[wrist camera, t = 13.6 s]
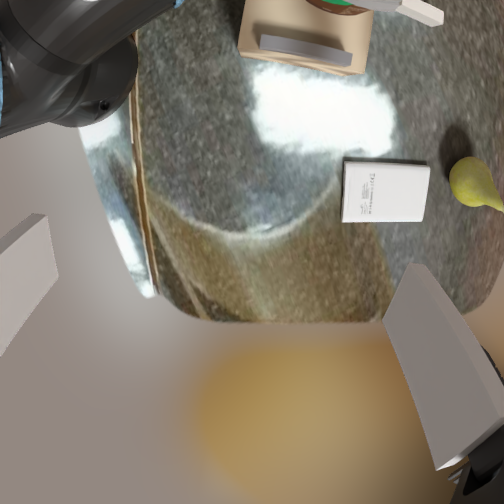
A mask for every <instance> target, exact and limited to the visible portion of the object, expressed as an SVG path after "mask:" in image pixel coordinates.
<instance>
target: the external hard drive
mask: <svg viewBox="0 0 504 504" xmlns="http://www.w3.org/2000/svg"><path fill="white" fill-rule="evenodd" d="M429 176H430V167H429V166H427V165H415V164H400V163H381V162H352V161H344V177H343V187H344V189H343V197H342V211H341V221H342V222H421V221H422V220H423V214H424V209H425V203H426V197H427V191H428V183H429Z"/></svg>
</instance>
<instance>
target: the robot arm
mask: <svg viewBox="0 0 504 504" xmlns="http://www.w3.org/2000/svg"><path fill="white" fill-rule="evenodd" d="M183 1H184V0H0V138H3V137H5V136H8V135H11V134H13V133H17V132H19V131H22V130H25V129H28V128H31V127H34V126H37V125H41V124H44V123H47V122H51V123H55V124H58V125H62V126H65V127H83V126H87V125H91V124H94V123H97V122H100V121H102V120H104V119H105V118H107V117H109V116H110V115H111V114H113V113H114V112H115V111H116V110H117V109H118V108H119V107H120V106H121V105H122V103H123V102H124V101H125V99H126V98H127V96H128V95H129V93H130V91H131V89H132V87H133V84H134V81H135V78H136V74H137V68H138V53H137V48H136V44H135V42H134V39H133V37H132V36H131V33H133V32H134V31H136V30H137V29H139V28H140V27H142V26H144V25H145V24H147V23H148V22H150V21H151V20H153V19H155V18H156V17H158V16H160V15H161V14H163V13H165V12H166V11H168V10H170V9H172V8H174V9H175V8H177V7H179V6H180V5H181V4H182V2H183ZM58 278H59V276H58V271H57V267H56V263H55V257H54V253H53V247H52V242H51V236H50V230H49V224H48V217H47V215H42V214H34V213H33V214H31V215H30V216H29V217H27V218H26V219H25V220H23V221H22V222H21V223H19V224H18V225H17V226H16V227H14V228H13V229H12V230H11V231H9V232H8V233H7V234H6V235H5V236H3V237H2V238H1V239H0V357H1V356H2V354H3V352H4V351H5V349H6V348H7V346H8V345H9V343H10V342H11V340H12V339H13V338H14V336H15V334H16V333H17V332H18V330H19V329H20V328H21V326H22V325H23V323H24V322H25V321H26V319H27V318H28V316H29V315H30V314H31V312H32V311H33V310H34V308H35V307H36V306H37V304H38V303H39V302H40V300H41V299H42V298H43V296H44V295H45V294H46V293H47V291H48V290H49V289H50V288H51V286H52V285H53V284H54V283H55V282H56V280H57V279H58ZM382 322H383V324H384V326H385V329H386V331H387V333H388V336H389V338H390V341H391V343H392V345H393V348H394V350H395V353H396V355H397V358H398V360H399V362H400V365H401V368H402V370H403V373H404V376H405V378H406V381H407V383H408V386H409V389H410V392H411V394H412V397H413V400H414V402H415V405H416V408H417V411H418V414H419V417H420V420H421V423H422V426H423V429H424V432H425V435H426V438H427V441H428V445H429V448H430V451H431V454H432V458H433V461H434V465H435V468H436V470H439V469H442V468H445V467H448V466H451V465H455V464H456V463H457V462H459V461H460V460H461V459H463V458H464V457H465V456H467V455H468V457H469V461H468V462H467V463H465V464H464V465H462V466H461V467H460V468H458V469H457V470H455V471H454V472H453V473H451V474H450V476H449V477H448V480H451V479H453V478H454V477H456V476H457V475H459V474H460V473H461V475H460V476H459V477H458V478H456V479H455V480H454V481H453V482H454V483H456V484H457V486H456V489H455V492H454V495H453V497H452V499H451V502H450V504H504V380H503V378H502V377H501V374H500V372H499V371H498V369H497V368H495V363H494V362H493V360H492V358H491V357H490V355H489V353H488V352H487V351H486V350H485V349H484V348H483V347H482V346H481V345H480V344H479V342H478V341H477V339H476V338H475V336H474V334H473V333H472V331H471V330H470V328H469V327H468V325H467V323H466V322H465V321H464V319H463V317H462V316H461V314H460V313H459V311H458V310H457V309H456V307H455V306H454V304H453V303H452V301H451V300H450V298H449V297H448V296H447V294H446V293H445V291H444V290H443V289H442V287H441V286H440V285H439V283H438V282H437V280H436V279H435V278H434V276H433V275H432V274H431V272H430V271H429V270H428V269H427V267H426V266H425V265H422V264H415V263H408V265H407V267H406V270H405V272H404V274H403V277H402V279H401V281H400V284H399V286H398V288H397V290H396V292H395V294H394V297H393V299H392V301H391V303H390V305H389V307H388V309H387V311H386V313H385V315H384V317H383V319H382Z"/></svg>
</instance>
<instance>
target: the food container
mask: <svg viewBox="0 0 504 504" xmlns="http://www.w3.org/2000/svg"><path fill="white" fill-rule="evenodd" d="M306 1H307V2H308V3H310V4H311V5H313V6H315V7H317V8H319V9H321V10H323V11H326V12H329V13H332V14H337V15H345V16H354V15H358V14H361V13H364V12H367V11H370V10H377V11H382V12H394V11H395V10H396V9H397V8H398V7H399V6H400V4H399V2H400V1H402V0H306Z"/></svg>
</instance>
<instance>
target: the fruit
mask: <svg viewBox="0 0 504 504" xmlns="http://www.w3.org/2000/svg"><path fill="white" fill-rule="evenodd" d="M449 182H450V186H451V190H452V192H453V194H454V196H455V197H456V198H457V199H458V200H459V201H460V202H461V203H463V204H465V205H468V206H481V205H483V204H486V205H489V206H491V207H494V208H495V209H497V210H500V211H502V212H503V213H504V206H503V202H502V200H501V198H500V196H499V193H498V191H497V189H496V188H495V185H494V183H493V179H492V175H491V172H490V170H489V168H488V166H487V165H486V164H485V163H484V162H483V161H482V160H480V159H478V158H476V157H465V158H463V159H461V160H459V161H458V162H457V163H456V164H455V165H454V166H453V167H452V169H451V171H450V175H449Z"/></svg>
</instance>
